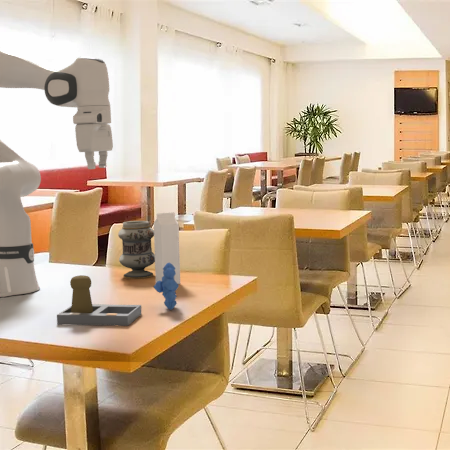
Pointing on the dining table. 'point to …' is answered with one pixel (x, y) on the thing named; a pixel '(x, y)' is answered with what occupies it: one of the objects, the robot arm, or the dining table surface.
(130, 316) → the panel
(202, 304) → the dining table surface
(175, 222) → the milk
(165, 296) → the grapes
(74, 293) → the cork
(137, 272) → the apothecary jar
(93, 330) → the dining table surface
